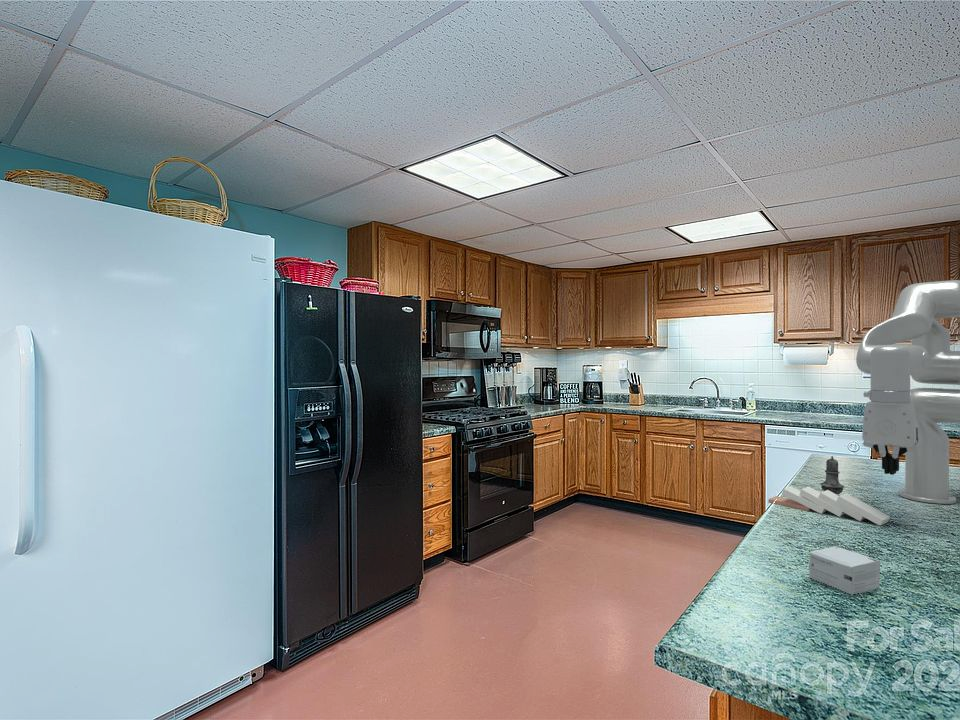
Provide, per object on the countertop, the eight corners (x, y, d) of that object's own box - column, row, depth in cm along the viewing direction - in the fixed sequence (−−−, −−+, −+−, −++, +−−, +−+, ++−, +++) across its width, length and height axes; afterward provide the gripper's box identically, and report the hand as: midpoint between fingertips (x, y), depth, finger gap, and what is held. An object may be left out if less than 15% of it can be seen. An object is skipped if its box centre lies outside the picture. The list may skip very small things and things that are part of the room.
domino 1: (827, 510, 137) (788, 491, 145) (830, 504, 137) (790, 486, 144) (821, 513, 134) (781, 494, 141) (823, 508, 134) (783, 489, 141)
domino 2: (846, 513, 134) (806, 491, 142) (848, 508, 134) (808, 486, 141) (839, 516, 131) (799, 494, 138) (842, 511, 131) (801, 489, 138)
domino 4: (887, 522, 127) (843, 498, 135) (890, 516, 127) (846, 493, 134) (879, 525, 124) (835, 501, 132) (883, 520, 124) (838, 495, 131)
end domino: (815, 509, 140) (776, 501, 148) (815, 503, 140) (776, 496, 148) (808, 513, 137) (768, 504, 144) (808, 507, 137) (768, 499, 144)
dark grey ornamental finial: (848, 500, 147) (848, 458, 147) (825, 499, 148) (825, 457, 148) (838, 495, 152) (838, 454, 152) (816, 494, 154) (816, 453, 154)
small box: (807, 578, 95) (807, 550, 95) (836, 572, 98) (836, 545, 98) (852, 597, 88) (852, 566, 88) (881, 589, 91) (881, 559, 91)
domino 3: (866, 517, 131) (825, 494, 138) (869, 512, 130) (827, 489, 138) (860, 521, 128) (817, 497, 135) (863, 515, 127) (820, 492, 135)
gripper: (848, 396, 129) (848, 470, 129) (925, 401, 117) (926, 482, 117) (858, 394, 133) (859, 465, 134) (934, 398, 121) (934, 476, 122)
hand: (890, 473), depth 125 cm, fingers closed
